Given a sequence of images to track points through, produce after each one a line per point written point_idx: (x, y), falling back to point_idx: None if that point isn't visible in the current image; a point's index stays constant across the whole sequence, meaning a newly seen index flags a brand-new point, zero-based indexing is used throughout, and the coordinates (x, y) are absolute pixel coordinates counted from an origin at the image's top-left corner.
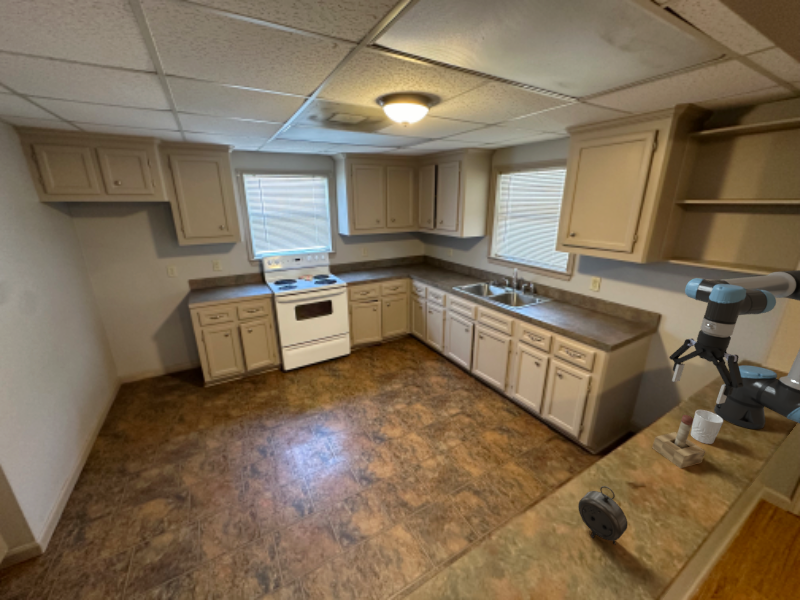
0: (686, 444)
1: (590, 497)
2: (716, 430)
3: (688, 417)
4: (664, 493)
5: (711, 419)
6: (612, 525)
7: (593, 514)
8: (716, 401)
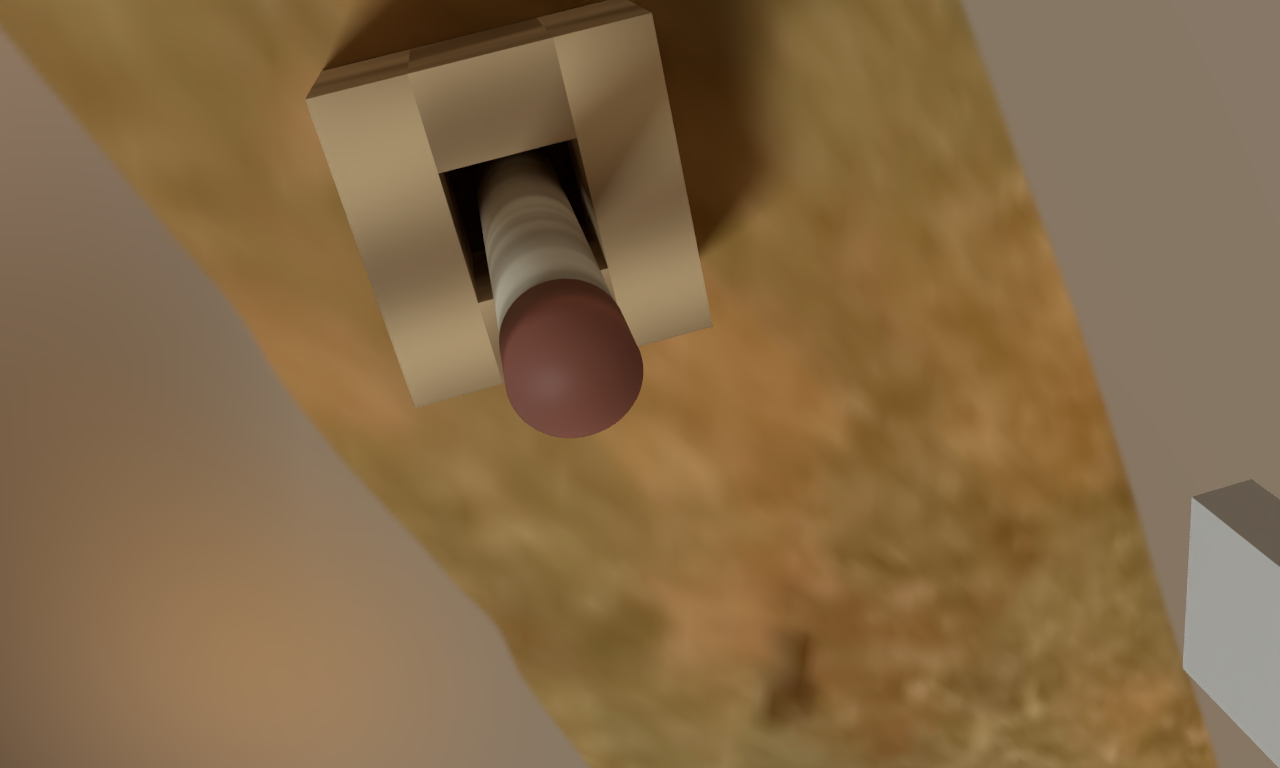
0: (536, 147)
1: None
2: None
3: (572, 368)
4: (877, 557)
5: None
6: None
7: None
8: (1214, 695)
